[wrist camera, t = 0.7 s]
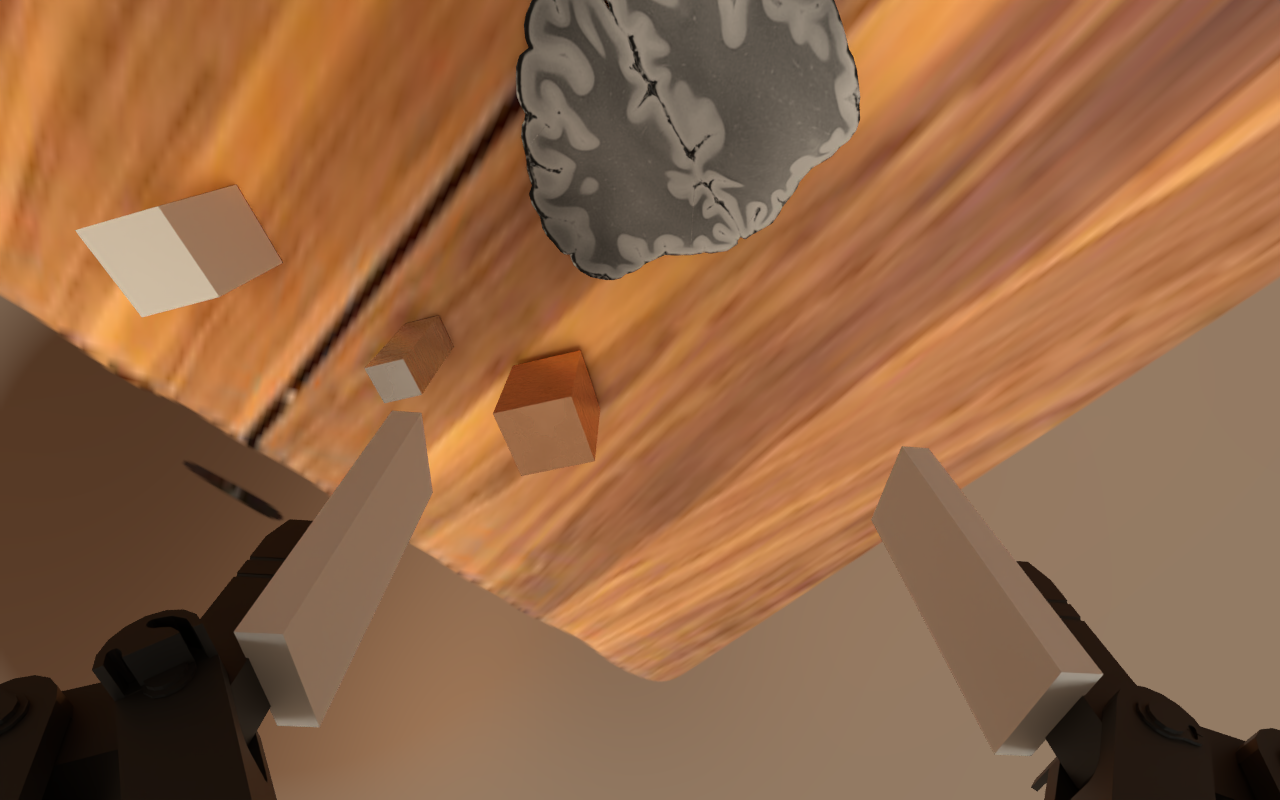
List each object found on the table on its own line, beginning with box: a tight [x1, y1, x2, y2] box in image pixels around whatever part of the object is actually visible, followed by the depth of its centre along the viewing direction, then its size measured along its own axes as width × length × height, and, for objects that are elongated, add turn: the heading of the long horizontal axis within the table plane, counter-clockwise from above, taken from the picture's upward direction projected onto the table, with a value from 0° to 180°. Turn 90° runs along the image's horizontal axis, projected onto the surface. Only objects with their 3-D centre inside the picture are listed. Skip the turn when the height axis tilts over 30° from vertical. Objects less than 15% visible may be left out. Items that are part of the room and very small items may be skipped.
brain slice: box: [516, 0, 860, 280], centre depth 32 cm, size 20×17×3 cm
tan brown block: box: [493, 350, 600, 476], centre depth 39 cm, size 5×5×8 cm
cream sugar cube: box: [75, 185, 283, 317], centre depth 33 cm, size 5×5×7 cm
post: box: [365, 315, 453, 403], centre depth 37 cm, size 3×3×7 cm
